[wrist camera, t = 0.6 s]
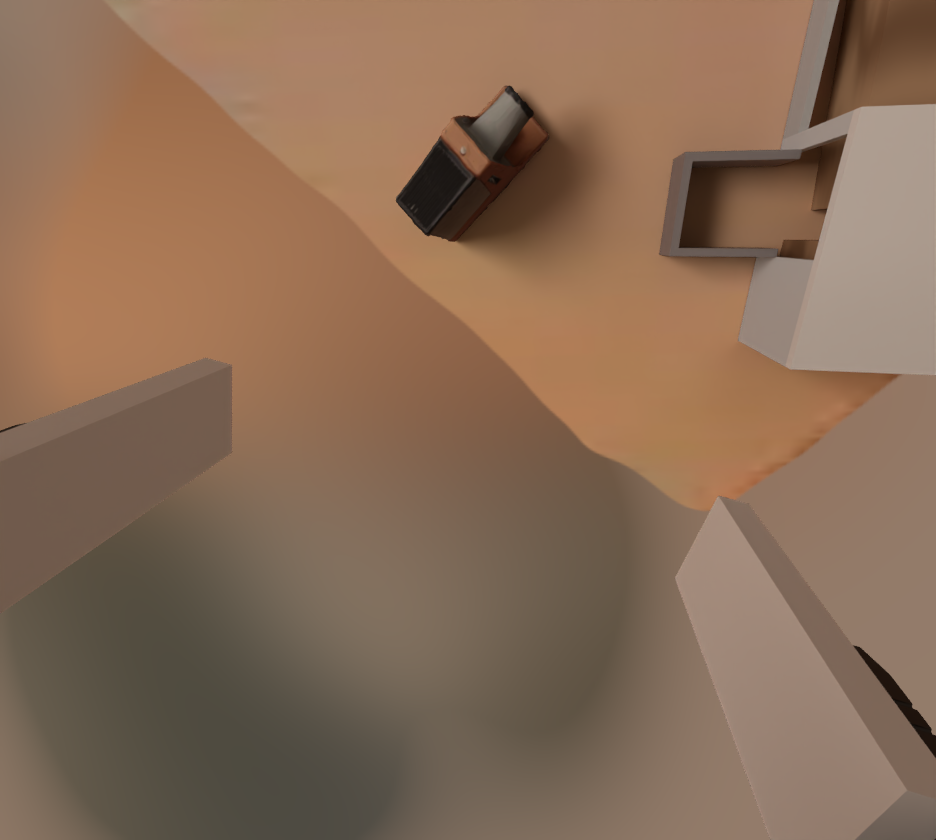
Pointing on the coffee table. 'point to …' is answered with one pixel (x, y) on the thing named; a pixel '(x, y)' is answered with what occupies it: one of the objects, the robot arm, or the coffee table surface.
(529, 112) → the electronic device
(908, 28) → the rod
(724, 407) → the coffee table surface
